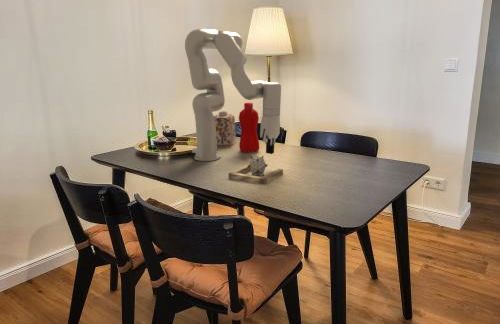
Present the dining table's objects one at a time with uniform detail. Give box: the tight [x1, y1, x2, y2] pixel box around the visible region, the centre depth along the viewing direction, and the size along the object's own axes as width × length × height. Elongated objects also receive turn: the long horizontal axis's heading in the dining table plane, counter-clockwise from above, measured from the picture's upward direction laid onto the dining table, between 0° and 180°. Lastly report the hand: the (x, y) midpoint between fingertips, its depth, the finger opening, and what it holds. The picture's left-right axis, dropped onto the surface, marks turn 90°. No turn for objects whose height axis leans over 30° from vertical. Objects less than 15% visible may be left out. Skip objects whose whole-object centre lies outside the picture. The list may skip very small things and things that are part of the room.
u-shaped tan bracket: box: [228, 163, 284, 185], centre depth 167 cm, size 17×16×2 cm
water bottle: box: [238, 102, 260, 154], centre depth 206 cm, size 9×11×25 cm
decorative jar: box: [213, 110, 236, 146], centre depth 226 cm, size 12×12×18 cm
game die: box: [247, 155, 268, 177], centre depth 167 cm, size 9×8×10 cm
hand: (269, 153), depth 177 cm, fingers closed
